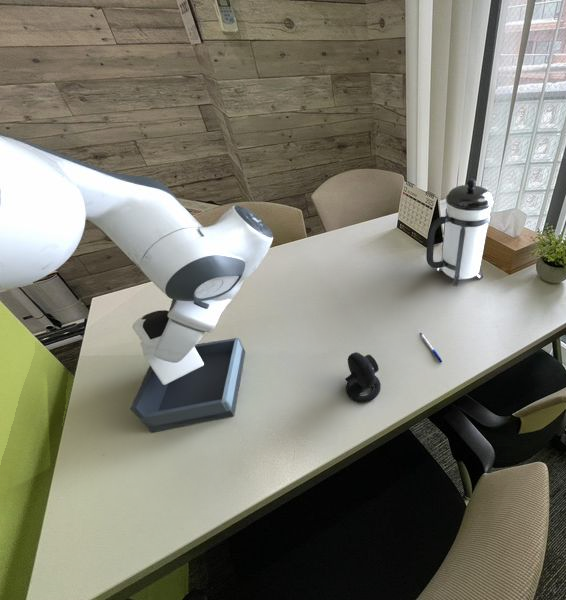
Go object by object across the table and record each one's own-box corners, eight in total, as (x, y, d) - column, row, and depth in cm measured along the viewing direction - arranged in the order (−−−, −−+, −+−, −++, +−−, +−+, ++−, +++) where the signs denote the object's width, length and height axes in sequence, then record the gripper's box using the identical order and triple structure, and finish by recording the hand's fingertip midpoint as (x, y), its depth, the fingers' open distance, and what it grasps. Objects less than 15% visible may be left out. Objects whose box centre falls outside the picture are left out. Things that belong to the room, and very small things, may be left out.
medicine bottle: (197, 353, 68) (168, 302, 63) (205, 365, 63) (174, 312, 57) (158, 371, 64) (125, 319, 59) (163, 386, 59) (127, 331, 54)
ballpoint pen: (443, 362, 76) (443, 359, 75) (440, 363, 75) (440, 360, 75) (421, 333, 83) (421, 331, 82) (418, 334, 83) (418, 332, 82)
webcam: (388, 390, 69) (387, 359, 63) (360, 411, 65) (355, 380, 59) (366, 369, 74) (363, 337, 68) (338, 387, 70) (332, 355, 64)
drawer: (245, 352, 78) (234, 327, 73) (234, 416, 64) (220, 392, 60) (177, 363, 75) (162, 339, 70) (151, 433, 62) (129, 409, 57)
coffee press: (441, 257, 112) (449, 167, 93) (487, 267, 107) (505, 174, 88) (424, 284, 100) (429, 186, 81) (475, 296, 95) (493, 196, 76)
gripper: (200, 248, 62) (167, 296, 66) (167, 317, 46) (127, 374, 51) (233, 265, 65) (199, 309, 70) (212, 334, 50) (171, 386, 54)
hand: (168, 337), depth 60 cm, fingers closed on medicine bottle, 7 cm apart
